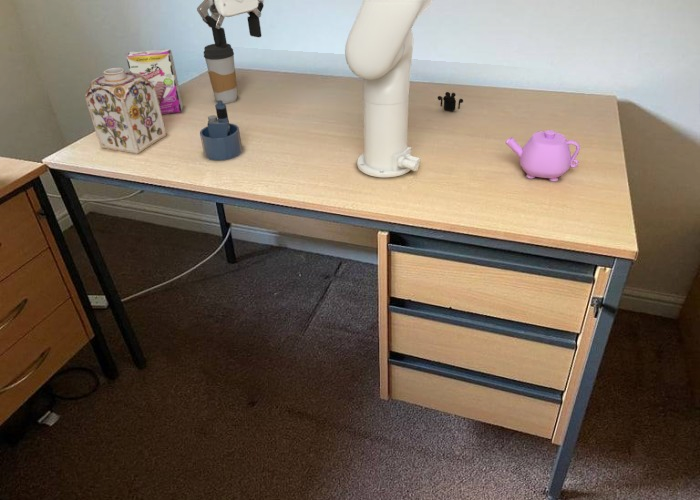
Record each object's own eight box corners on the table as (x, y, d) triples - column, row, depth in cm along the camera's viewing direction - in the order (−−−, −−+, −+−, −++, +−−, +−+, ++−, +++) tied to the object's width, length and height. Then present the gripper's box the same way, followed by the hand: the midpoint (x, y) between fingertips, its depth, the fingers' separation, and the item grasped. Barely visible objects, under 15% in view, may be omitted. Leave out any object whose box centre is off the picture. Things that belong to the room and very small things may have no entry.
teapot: (575, 188, 109) (585, 145, 104) (499, 179, 113) (505, 137, 108) (575, 165, 117) (584, 124, 112) (504, 157, 121) (510, 118, 116)
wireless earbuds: (462, 111, 144) (464, 92, 141) (460, 114, 142) (461, 96, 140) (437, 107, 147) (438, 89, 144) (434, 111, 145) (435, 92, 142)
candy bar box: (141, 117, 149) (124, 56, 140) (143, 110, 153) (127, 51, 144) (182, 113, 151) (169, 53, 141) (184, 106, 155) (170, 47, 145)
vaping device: (231, 152, 127) (222, 103, 120) (210, 151, 128) (200, 102, 121) (235, 148, 129) (227, 99, 122) (215, 146, 130) (205, 98, 123)
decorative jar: (99, 148, 133) (75, 75, 123) (131, 130, 142) (111, 60, 132) (138, 155, 130) (117, 80, 119) (168, 135, 138) (151, 64, 128)
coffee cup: (247, 97, 159) (239, 44, 150) (227, 106, 154) (218, 52, 145) (226, 92, 163) (217, 41, 154) (206, 101, 157) (195, 48, 149)
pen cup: (250, 150, 129) (246, 128, 126) (220, 164, 124) (215, 142, 121) (226, 141, 134) (222, 120, 131) (196, 153, 129) (192, 132, 126)
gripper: (200, -41, 100) (218, 54, 110) (268, -53, 110) (279, 34, 120) (176, -43, 104) (196, 49, 114) (244, -54, 115) (257, 30, 124)
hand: (239, 41), depth 117 cm, fingers open, 9 cm apart
